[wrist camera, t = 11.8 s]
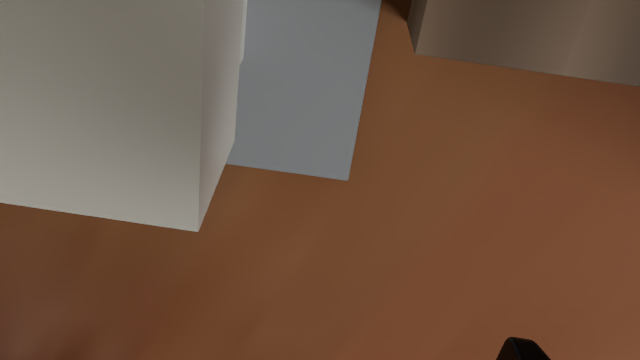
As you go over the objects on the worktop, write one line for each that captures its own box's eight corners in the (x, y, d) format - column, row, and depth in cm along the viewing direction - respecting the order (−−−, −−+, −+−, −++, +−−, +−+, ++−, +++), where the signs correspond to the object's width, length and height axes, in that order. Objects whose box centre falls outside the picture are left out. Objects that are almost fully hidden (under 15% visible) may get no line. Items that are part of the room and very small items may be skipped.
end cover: (273, -76, 16) (204, -1, 9) (259, 77, 18) (198, 232, 11) (109, -103, 16) (-97, -50, 9) (118, 55, 18) (-34, 197, 11)
